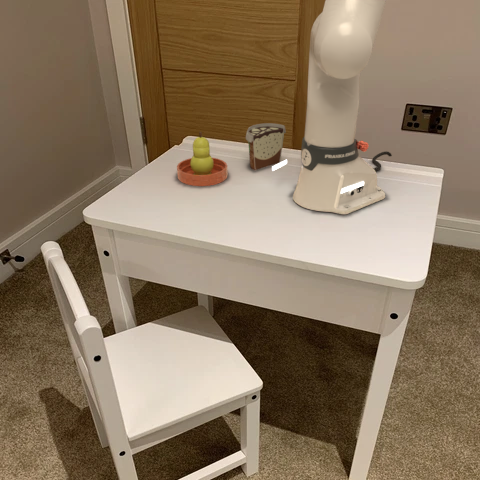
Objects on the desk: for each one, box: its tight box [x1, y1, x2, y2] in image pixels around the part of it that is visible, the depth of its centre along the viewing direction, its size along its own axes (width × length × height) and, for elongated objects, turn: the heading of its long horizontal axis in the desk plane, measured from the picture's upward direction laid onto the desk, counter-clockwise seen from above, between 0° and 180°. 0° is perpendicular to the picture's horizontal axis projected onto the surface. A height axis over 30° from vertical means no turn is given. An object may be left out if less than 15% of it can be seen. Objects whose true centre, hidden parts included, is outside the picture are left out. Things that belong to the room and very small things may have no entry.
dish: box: [176, 157, 229, 187], centre depth 128 cm, size 13×13×3 cm
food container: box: [245, 122, 287, 172], centre depth 134 cm, size 12×6×10 cm, turn 130°
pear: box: [190, 131, 214, 175], centre depth 126 cm, size 6×6×11 cm
